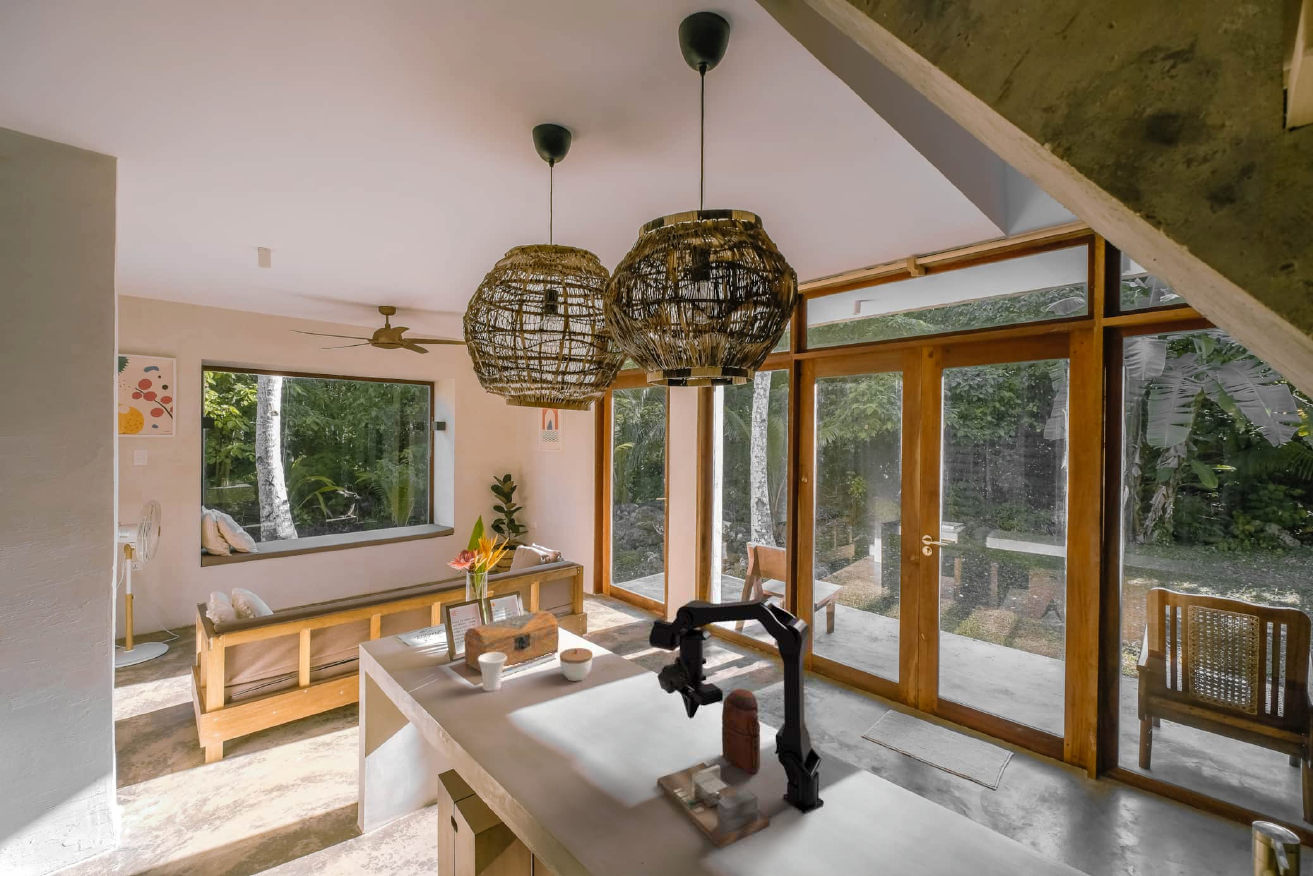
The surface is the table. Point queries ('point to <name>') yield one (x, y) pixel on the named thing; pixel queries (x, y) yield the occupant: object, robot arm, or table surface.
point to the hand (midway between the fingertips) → (690, 717)
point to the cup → (492, 669)
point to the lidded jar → (576, 663)
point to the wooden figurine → (741, 730)
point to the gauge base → (716, 808)
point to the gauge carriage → (708, 786)
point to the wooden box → (513, 638)
